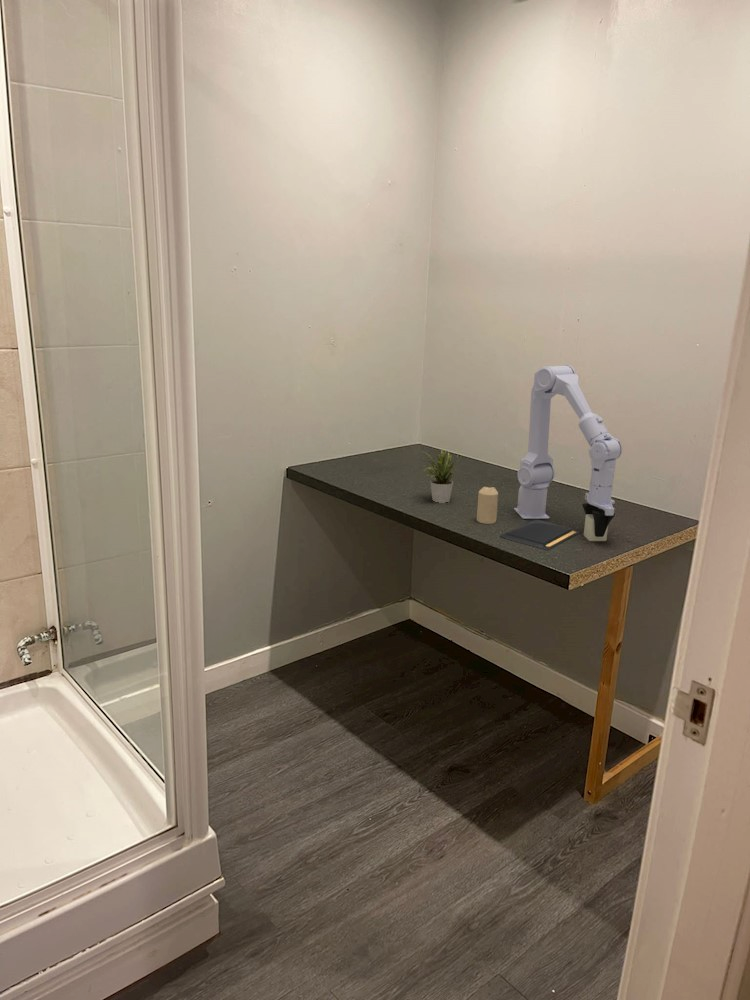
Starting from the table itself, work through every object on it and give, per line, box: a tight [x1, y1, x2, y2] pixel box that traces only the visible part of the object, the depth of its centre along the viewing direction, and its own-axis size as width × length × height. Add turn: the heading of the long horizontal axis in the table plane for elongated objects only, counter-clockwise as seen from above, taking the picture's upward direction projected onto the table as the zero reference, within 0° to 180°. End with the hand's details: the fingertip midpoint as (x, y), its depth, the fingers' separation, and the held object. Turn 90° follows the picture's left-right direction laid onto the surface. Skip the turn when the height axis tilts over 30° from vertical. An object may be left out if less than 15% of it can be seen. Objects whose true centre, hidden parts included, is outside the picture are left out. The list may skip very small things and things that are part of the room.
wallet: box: [499, 519, 582, 552], centre depth 193 cm, size 20×2×15 cm
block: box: [583, 514, 609, 542], centre depth 191 cm, size 4×4×6 cm
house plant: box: [422, 449, 459, 504], centre depth 220 cm, size 14×14×16 cm
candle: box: [476, 486, 499, 525], centre depth 202 cm, size 6×6×10 cm
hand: (595, 533), depth 192 cm, fingers closed on block, 4 cm apart
